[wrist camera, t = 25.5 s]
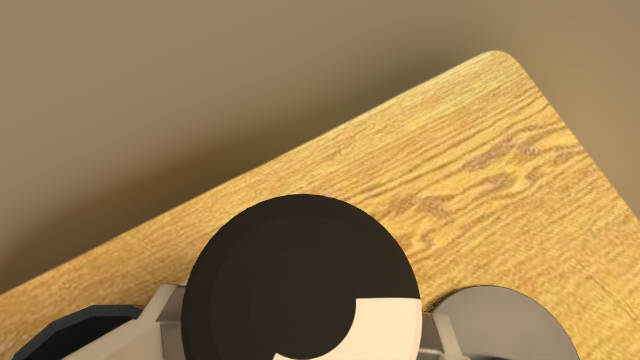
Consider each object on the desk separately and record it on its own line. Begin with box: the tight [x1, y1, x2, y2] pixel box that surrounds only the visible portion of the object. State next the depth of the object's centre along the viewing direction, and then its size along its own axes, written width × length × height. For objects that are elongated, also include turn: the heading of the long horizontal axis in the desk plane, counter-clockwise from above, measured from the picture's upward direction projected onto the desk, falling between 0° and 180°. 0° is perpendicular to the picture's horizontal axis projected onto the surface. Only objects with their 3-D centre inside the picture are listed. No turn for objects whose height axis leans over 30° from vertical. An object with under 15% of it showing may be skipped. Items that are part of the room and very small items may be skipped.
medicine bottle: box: [179, 194, 422, 360], centre depth 14 cm, size 7×7×12 cm
